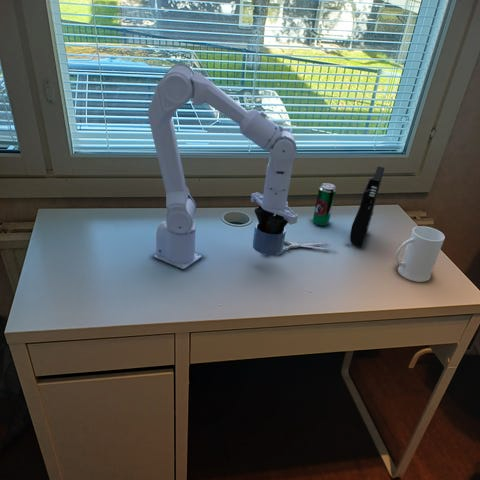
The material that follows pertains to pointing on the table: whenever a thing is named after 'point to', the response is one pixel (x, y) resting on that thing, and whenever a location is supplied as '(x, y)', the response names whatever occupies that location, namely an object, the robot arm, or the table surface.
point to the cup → (268, 241)
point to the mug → (420, 253)
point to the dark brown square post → (267, 227)
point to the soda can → (324, 204)
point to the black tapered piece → (366, 209)
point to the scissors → (300, 245)
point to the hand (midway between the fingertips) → (268, 238)
